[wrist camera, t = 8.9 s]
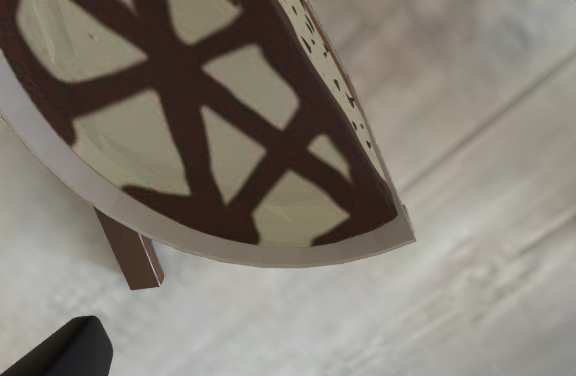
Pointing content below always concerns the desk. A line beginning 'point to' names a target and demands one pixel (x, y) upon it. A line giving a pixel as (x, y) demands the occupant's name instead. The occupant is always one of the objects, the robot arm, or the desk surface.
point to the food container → (203, 126)
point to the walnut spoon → (132, 254)
